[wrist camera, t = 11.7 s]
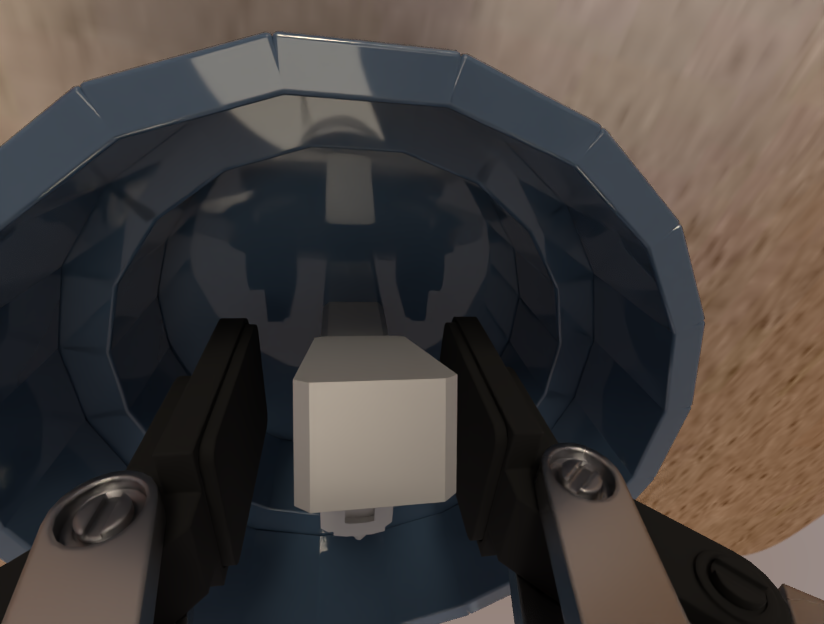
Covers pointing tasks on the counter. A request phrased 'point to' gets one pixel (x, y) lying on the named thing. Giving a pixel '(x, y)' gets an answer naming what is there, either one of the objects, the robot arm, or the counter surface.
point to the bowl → (327, 286)
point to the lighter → (370, 423)
